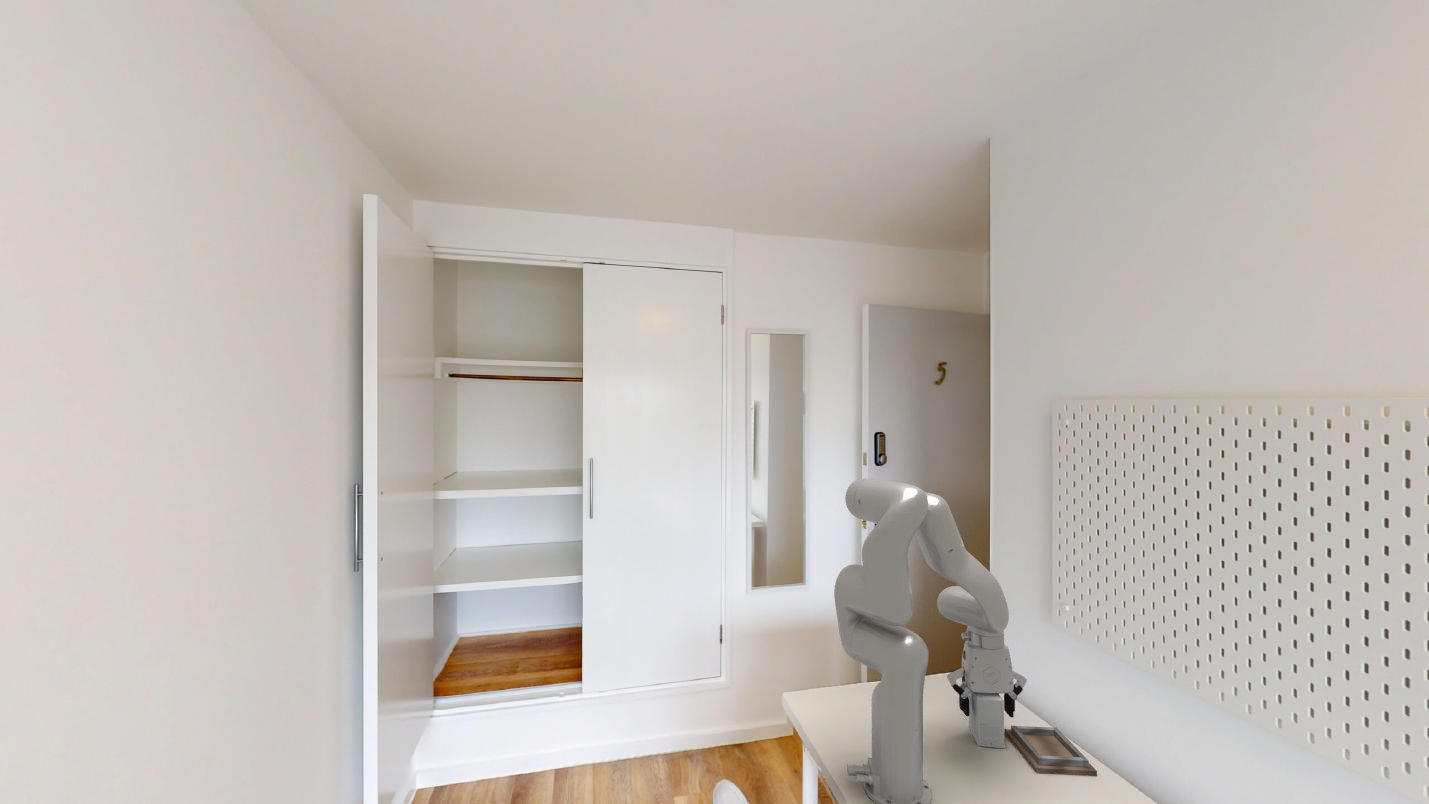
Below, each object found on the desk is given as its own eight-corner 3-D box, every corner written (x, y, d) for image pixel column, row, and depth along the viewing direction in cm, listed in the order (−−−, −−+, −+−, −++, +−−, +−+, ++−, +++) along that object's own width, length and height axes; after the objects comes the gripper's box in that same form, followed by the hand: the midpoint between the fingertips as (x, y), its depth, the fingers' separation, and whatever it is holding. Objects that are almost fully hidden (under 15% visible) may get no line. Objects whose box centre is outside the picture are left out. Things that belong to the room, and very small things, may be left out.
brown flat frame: (1035, 772, 112) (1035, 761, 113) (1004, 733, 126) (1004, 723, 126) (1096, 775, 112) (1096, 763, 112) (1058, 735, 126) (1058, 725, 126)
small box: (1004, 749, 120) (1004, 701, 121) (977, 746, 121) (977, 698, 122) (993, 729, 128) (993, 683, 128) (968, 726, 129) (967, 681, 130)
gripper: (952, 644, 122) (954, 722, 122) (1033, 646, 121) (1034, 724, 121) (941, 631, 130) (942, 703, 130) (1016, 632, 129) (1018, 705, 128)
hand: (987, 713), depth 125 cm, fingers open, 9 cm apart
